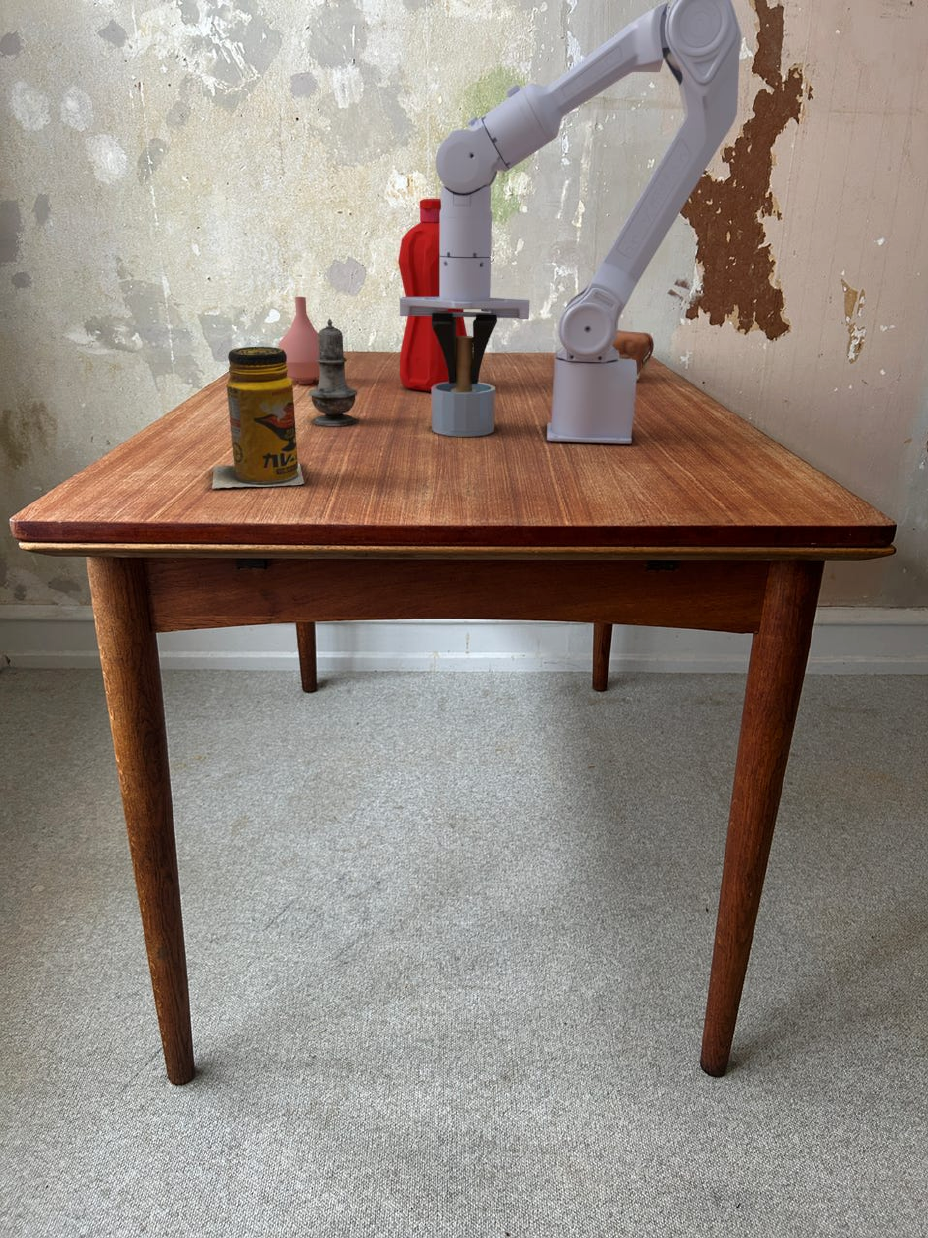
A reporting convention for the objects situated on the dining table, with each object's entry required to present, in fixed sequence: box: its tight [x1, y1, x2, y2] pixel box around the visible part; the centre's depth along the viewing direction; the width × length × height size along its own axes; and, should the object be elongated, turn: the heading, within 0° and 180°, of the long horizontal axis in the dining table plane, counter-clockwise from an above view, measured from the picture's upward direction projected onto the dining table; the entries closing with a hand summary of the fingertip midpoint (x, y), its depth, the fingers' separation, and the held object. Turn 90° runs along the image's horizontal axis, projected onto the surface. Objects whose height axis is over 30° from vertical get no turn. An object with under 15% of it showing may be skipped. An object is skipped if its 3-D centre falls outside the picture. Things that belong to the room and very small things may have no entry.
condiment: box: [211, 346, 305, 489], centre depth 84 cm, size 7×8×12 cm
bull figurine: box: [612, 329, 655, 382], centre depth 139 cm, size 4×13×8 cm, turn 43°
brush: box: [451, 335, 477, 393], centre depth 103 cm, size 3×3×8 cm
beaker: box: [431, 382, 497, 438], centre depth 105 cm, size 7×7×5 cm
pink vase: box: [277, 296, 320, 385], centre depth 130 cm, size 8×8×12 cm
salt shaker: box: [308, 318, 359, 427], centre depth 106 cm, size 6×6×12 cm
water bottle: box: [397, 198, 468, 393], centre depth 126 cm, size 9×11×25 cm
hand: (463, 382), depth 104 cm, fingers closed on brush, 2 cm apart
